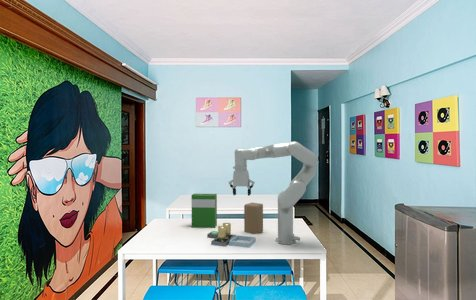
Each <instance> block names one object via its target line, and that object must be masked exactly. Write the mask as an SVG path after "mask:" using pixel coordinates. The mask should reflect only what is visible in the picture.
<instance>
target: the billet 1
mask: <svg viewBox="0 0 476 300" xmlns="http://www.w3.org/2000/svg"><path fill="white" fill-rule="evenodd" d="M217 232H218V241H220V242H225V241H226V226H223V225H219V226H217Z"/></svg>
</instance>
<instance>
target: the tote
mask: <svg viewBox="0 0 476 300" xmlns="http://www.w3.org/2000/svg"><path fill="white" fill-rule="evenodd" d="M235 235H236V236H235V237H234V238H232V239H231V240H230V241H229V244H228V245H229V246H233V247H241V248H251V247H252V245H254V244H255V243H256V241H257V240H256V237H255V236H248V235H237V234H235ZM244 241H246V242H244Z"/></svg>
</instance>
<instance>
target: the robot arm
mask: <svg viewBox="0 0 476 300" xmlns="http://www.w3.org/2000/svg"><path fill="white" fill-rule="evenodd" d="M289 156H292V157H293V158H295V159H296V160H298V161H299V162H301V163H302V168H301V169H300V171H299V172H298V174H296V175H295V177H294V178H293V179H291V181H290V182H289V186H287V188H286V189H285V190H283V191H281V192H279V194H278V195H277V237H276V238H275V242H276V243H278V244H281V245H292V244H295V243H296V241H298V242H300V241H301V237H299V236H296V235H295V233H294V206H295V205H296V204H297V202H298V201H299V200H300V199H301V198H302V197H303V195H304V194H305V193H306V190H307V186H308V185H309V183H310V182H311V180H312V179H313V178H314V177H315V175H316V173H317V168H318V167H317V166H318V164H317V163H318V157H317V155H316V154H315V153H314V152H313V151H312V150H310V149H308V148H307V147H305V146H303V145H302V144H301V143H300V142H298V141H295V140H294V141H288V142H287V141H286V142H281V143H274V144H269V145H266V146H260V147H252V148H246V149H245V148H236V149H235V150H234V166H233V167H232V168H233V169H234V170H233V175H232V180H230V181H228V185H229V186H230V188H231V189H232V194H233V196H236V195H237V187H246V188H247V196H251V195H252V188H253V187H254V185H255V182H256V181H253V180H251V179H250V173H249V170H248V167H247V166H248V163H247V162H248V161H256V160H258V159H267V158H268V159H269V158H270V159H274V158H283V157H289ZM250 183H251V184H250Z"/></svg>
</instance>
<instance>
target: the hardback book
mask: <svg viewBox="0 0 476 300" xmlns="http://www.w3.org/2000/svg"><path fill="white" fill-rule="evenodd" d="M217 197H218V196H217V193H193V194H191V228H197V229H198V228H199V229H200V228H201V229H202V228H203V229H216V227H218V226H217V224H218V219H217V217H218V212H217V209H218V208H217V207H218V205H217V203H218V200H217Z"/></svg>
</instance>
